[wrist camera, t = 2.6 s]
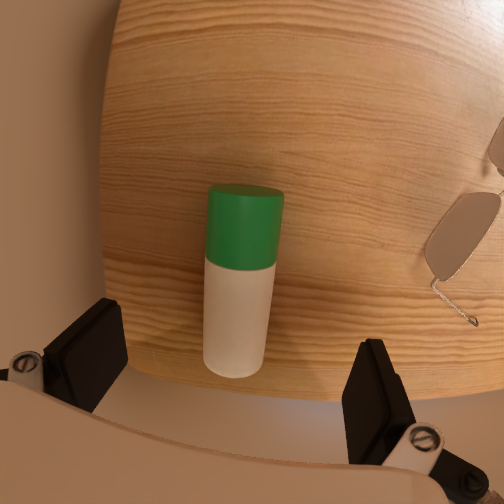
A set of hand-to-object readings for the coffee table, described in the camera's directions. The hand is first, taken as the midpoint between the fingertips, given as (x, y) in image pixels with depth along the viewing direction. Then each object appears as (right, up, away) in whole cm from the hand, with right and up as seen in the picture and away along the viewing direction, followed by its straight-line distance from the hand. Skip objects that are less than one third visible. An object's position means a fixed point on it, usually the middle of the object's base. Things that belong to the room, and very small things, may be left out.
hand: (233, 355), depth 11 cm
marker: (+1, +3, +7) cm, 7 cm away
